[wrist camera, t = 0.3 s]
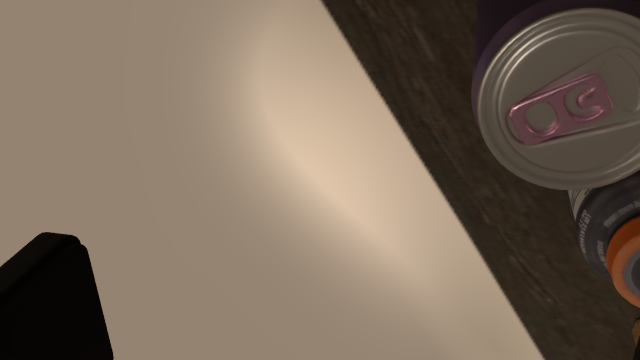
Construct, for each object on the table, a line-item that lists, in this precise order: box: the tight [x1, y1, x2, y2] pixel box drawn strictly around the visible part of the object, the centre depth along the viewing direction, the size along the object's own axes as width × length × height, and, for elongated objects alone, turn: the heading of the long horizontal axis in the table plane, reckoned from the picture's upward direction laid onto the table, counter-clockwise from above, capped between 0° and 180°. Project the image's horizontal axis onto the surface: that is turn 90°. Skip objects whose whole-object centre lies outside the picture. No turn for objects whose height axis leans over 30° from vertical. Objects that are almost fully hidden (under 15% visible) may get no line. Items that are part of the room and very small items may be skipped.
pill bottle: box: [565, 170, 640, 308], centre depth 28 cm, size 6×6×11 cm
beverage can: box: [472, 0, 640, 190], centre depth 24 cm, size 6×6×15 cm
